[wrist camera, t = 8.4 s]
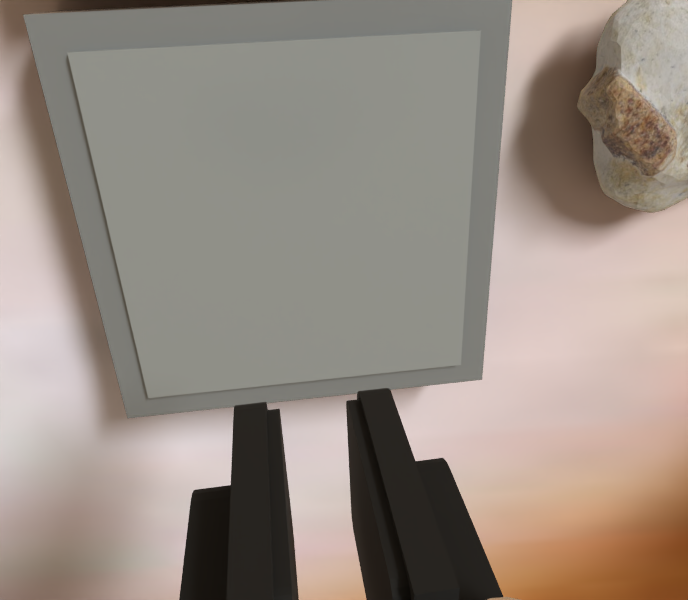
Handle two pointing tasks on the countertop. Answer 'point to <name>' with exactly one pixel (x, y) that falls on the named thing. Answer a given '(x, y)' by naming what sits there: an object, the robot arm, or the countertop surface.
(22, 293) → the countertop surface
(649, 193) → the stone
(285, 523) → the robot arm
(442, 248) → the slate stand
